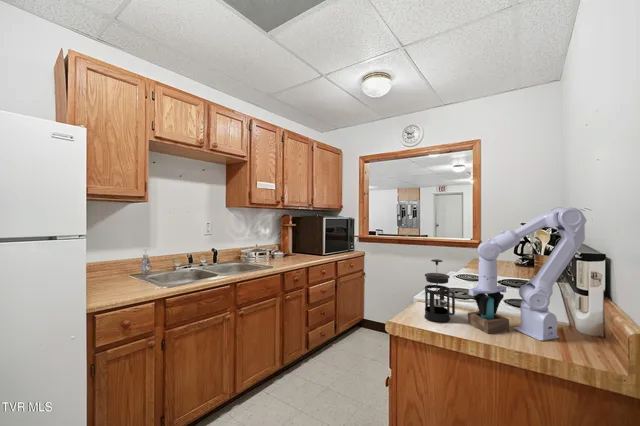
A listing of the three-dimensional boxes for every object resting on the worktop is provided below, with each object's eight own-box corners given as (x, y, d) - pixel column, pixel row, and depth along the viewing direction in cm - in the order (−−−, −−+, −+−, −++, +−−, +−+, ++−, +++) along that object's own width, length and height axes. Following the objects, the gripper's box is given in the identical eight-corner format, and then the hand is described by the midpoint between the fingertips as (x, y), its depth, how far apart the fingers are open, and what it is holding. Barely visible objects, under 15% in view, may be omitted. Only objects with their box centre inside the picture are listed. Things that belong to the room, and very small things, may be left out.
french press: (418, 317, 110) (417, 259, 109) (429, 311, 116) (429, 256, 116) (448, 327, 101) (448, 263, 101) (459, 319, 108) (458, 260, 107)
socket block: (509, 330, 98) (509, 319, 98) (487, 333, 95) (487, 322, 95) (487, 320, 106) (487, 310, 106) (467, 323, 104) (467, 312, 104)
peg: (496, 321, 99) (496, 299, 99) (486, 322, 99) (486, 300, 98) (487, 317, 103) (487, 295, 103) (478, 318, 103) (478, 296, 102)
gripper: (494, 272, 106) (494, 307, 106) (462, 274, 103) (462, 311, 103) (511, 276, 99) (511, 314, 100) (477, 279, 96) (477, 319, 96)
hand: (487, 313), depth 101 cm, fingers closed on peg, 4 cm apart
